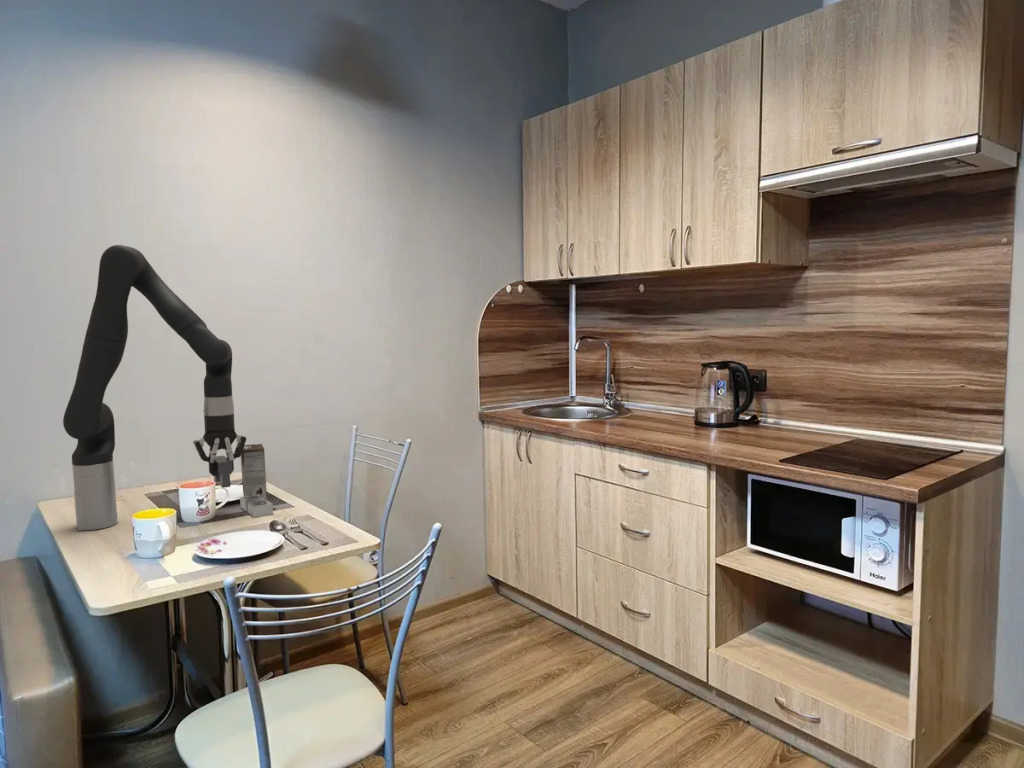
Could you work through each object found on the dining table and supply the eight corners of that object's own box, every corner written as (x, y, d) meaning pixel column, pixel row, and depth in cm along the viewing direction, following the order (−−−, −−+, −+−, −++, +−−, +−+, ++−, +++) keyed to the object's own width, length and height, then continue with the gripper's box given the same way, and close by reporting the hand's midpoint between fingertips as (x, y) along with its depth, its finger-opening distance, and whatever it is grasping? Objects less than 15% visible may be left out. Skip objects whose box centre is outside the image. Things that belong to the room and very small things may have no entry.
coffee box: (242, 496, 207) (239, 445, 206) (264, 494, 210) (262, 443, 208) (244, 503, 199) (241, 450, 197) (267, 501, 202) (264, 448, 200)
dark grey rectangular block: (219, 488, 181) (218, 462, 180) (211, 481, 188) (210, 457, 188) (233, 486, 183) (232, 461, 182) (224, 479, 190) (223, 455, 190)
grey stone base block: (253, 517, 185) (253, 504, 184) (240, 507, 195) (239, 495, 195) (273, 514, 188) (272, 501, 187) (259, 504, 198) (258, 492, 198)
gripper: (194, 416, 176) (197, 480, 178) (249, 412, 185) (252, 473, 187) (188, 413, 182) (191, 475, 184) (242, 409, 191) (244, 468, 193)
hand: (221, 474), depth 185 cm, fingers closed on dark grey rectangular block, 3 cm apart
